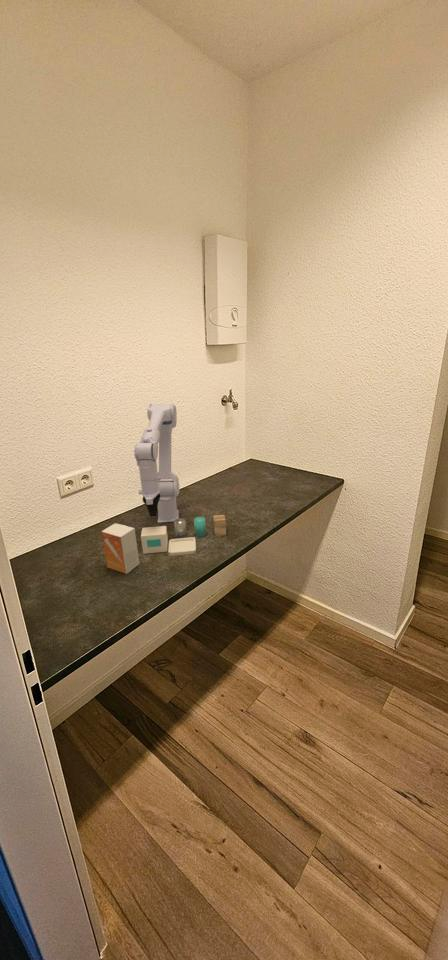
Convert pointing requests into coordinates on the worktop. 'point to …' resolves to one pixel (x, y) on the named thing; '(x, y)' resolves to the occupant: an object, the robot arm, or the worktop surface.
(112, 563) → the small box
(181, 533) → the cylinder
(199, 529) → the cylinder
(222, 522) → the oak block
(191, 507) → the worktop surface
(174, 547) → the tray
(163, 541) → the block
